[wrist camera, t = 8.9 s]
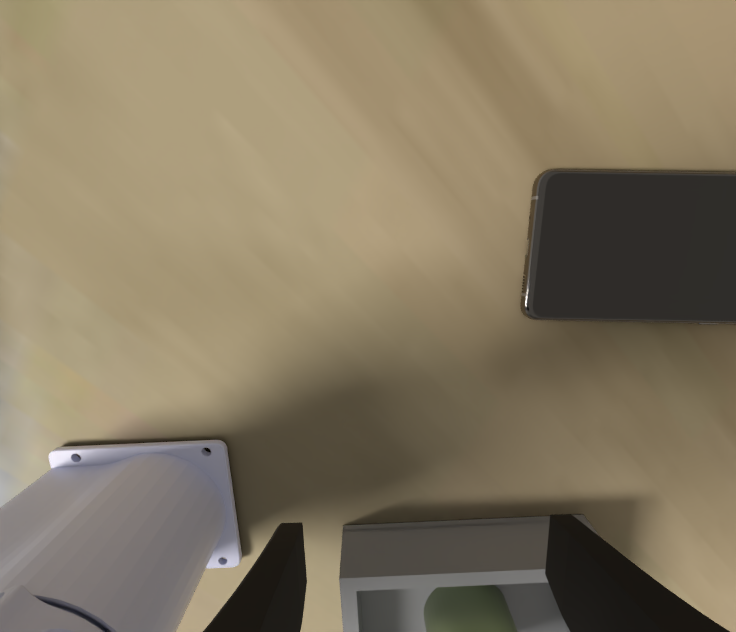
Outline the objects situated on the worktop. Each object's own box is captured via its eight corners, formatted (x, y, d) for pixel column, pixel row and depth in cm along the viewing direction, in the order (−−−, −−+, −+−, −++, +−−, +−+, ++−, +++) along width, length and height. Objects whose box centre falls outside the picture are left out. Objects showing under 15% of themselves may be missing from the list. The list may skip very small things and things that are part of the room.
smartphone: (538, 168, 18) (887, 173, 18) (529, 171, 19) (858, 177, 19) (522, 321, 19) (842, 328, 19) (514, 317, 20) (818, 323, 20)
